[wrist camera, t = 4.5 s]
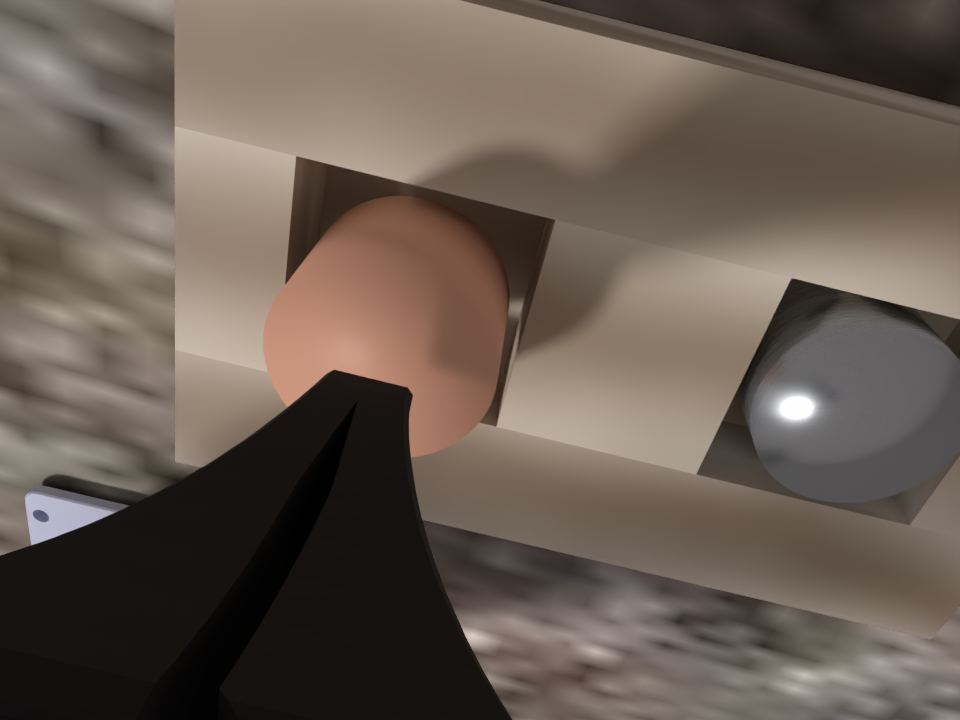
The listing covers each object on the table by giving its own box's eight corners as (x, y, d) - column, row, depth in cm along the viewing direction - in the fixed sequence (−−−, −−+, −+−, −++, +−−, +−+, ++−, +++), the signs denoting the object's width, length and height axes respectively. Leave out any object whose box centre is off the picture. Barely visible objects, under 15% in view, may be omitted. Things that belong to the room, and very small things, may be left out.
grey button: (864, 442, 20) (908, 521, 17) (702, 403, 20) (721, 477, 17) (956, 295, 17) (1023, 362, 15) (772, 250, 17) (807, 309, 15)
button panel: (889, 555, 22) (931, 639, 19) (222, 396, 22) (174, 461, 19) (1173, 160, 16) (1289, 209, 13) (240, -76, 15) (174, -73, 13)
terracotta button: (485, 397, 18) (471, 479, 15) (302, 353, 18) (256, 429, 15) (531, 224, 15) (524, 288, 13) (321, 173, 15) (271, 226, 13)
